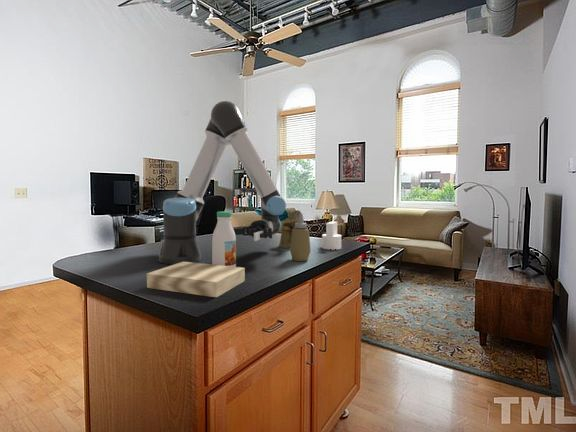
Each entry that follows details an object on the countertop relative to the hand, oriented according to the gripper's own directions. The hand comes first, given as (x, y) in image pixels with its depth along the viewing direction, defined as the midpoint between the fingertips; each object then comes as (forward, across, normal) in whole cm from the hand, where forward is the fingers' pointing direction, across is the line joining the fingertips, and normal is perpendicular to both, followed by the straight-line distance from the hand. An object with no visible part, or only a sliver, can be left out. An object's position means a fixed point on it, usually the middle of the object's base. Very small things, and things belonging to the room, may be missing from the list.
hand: (237, 235), depth 117 cm
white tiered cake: (-50, -24, -11) cm, 56 cm away
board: (+23, +1, -11) cm, 26 cm away
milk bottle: (+8, +1, -11) cm, 14 cm away
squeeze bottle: (-19, -18, -11) cm, 28 cm away
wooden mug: (-43, -6, -11) cm, 45 cm away
